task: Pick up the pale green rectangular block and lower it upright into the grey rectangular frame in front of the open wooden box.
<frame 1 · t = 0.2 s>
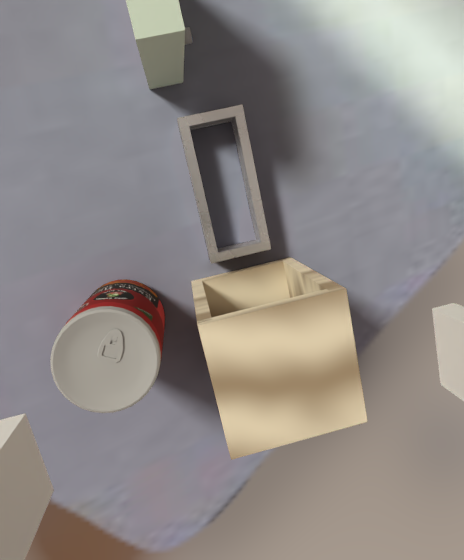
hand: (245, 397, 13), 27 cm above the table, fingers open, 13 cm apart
canned food: (125, 317, 40), on the table
grey rectangular frame: (223, 187, 39), on the table
pale green rectangular block: (153, 30, 35), on the table
open wooden box: (251, 316, 41), on the table
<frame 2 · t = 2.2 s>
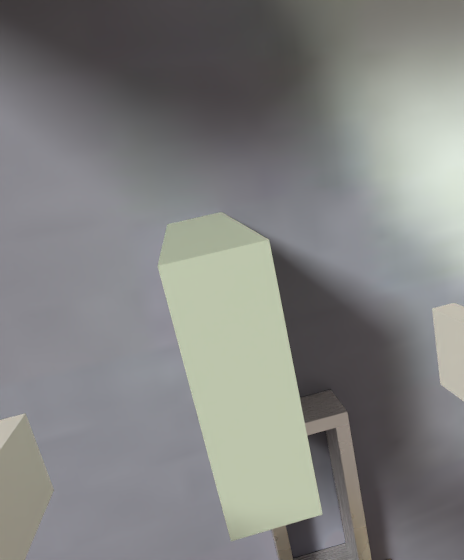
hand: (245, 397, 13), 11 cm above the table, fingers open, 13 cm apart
grey rectangular frame: (304, 485, 27), on the table
pale green rectangular block: (212, 295, 24), on the table
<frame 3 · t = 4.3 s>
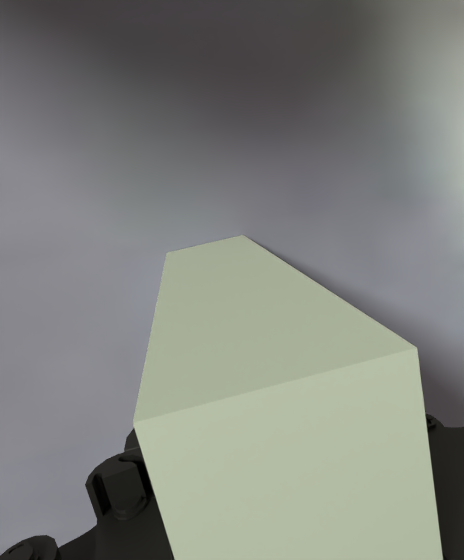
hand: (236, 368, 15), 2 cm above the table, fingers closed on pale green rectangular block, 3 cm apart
pale green rectangular block: (230, 350, 17), on the table, touching gripper
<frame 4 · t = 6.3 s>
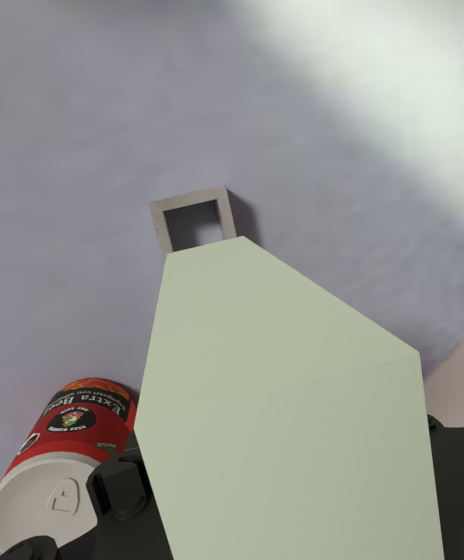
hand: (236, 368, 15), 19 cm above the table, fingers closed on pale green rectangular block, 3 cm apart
canned food: (93, 416, 35), on the table
grey rectangular frame: (205, 271, 33), on the table
pale green rectangular block: (230, 351, 17), point 17 cm above the table, touching gripper
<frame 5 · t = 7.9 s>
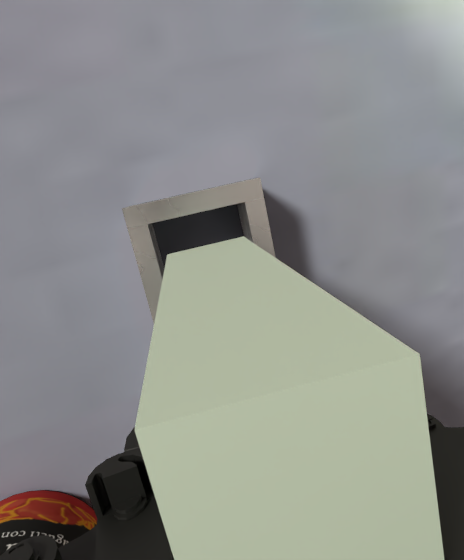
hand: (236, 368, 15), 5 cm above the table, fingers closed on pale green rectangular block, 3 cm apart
canned food: (42, 547, 22), on the table
grey rectangular frame: (220, 320, 20), on the table
pale green rectangular block: (230, 352, 17), point 4 cm above the table, touching gripper
when the fingers open (4 cm above the table, at t = 8.8 s): pale green rectangular block drops 2 cm, resting in grey rectangular frame.
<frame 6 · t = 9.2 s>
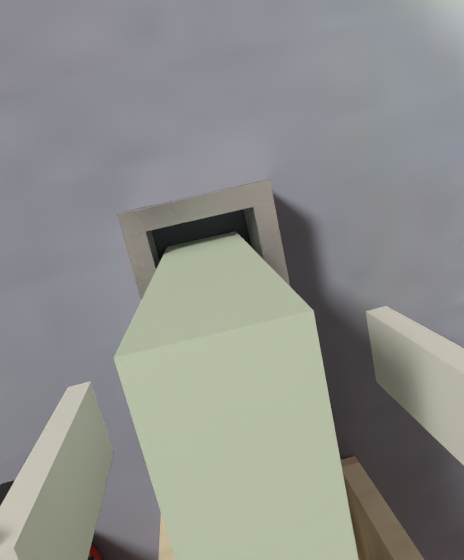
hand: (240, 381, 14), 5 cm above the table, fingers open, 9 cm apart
grey rectangular frame: (224, 334, 19), on the table
pale green rectangular block: (224, 335, 19), resting in grey rectangular frame
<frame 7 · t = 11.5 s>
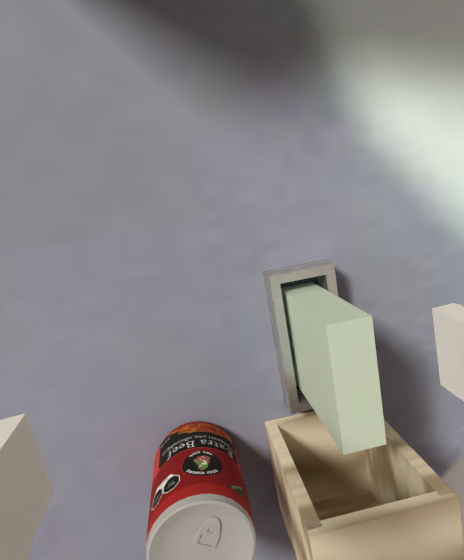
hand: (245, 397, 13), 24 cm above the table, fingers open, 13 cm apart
canned food: (195, 456, 39), on the table
grey rectangular frame: (303, 331, 38), on the table
pale green rectangular block: (302, 332, 38), resting in grey rectangular frame
open wooden box: (321, 456, 41), on the table
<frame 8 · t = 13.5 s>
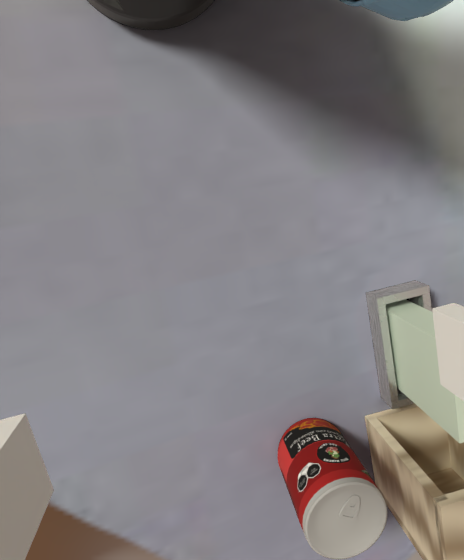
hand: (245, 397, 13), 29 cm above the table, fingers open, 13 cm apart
canned food: (308, 446, 47), on the table
grey rectangular frame: (397, 340, 46), on the table
pale green rectangular block: (396, 340, 46), resting in grey rectangular frame
open wooden box: (410, 442, 48), on the table
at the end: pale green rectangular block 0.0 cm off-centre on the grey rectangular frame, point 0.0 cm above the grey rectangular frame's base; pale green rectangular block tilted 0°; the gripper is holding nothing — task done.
